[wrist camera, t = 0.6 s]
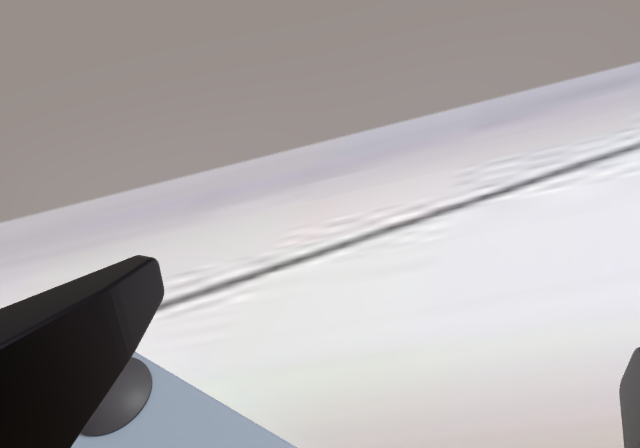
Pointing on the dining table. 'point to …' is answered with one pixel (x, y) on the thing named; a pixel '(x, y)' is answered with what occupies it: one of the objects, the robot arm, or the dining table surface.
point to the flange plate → (167, 415)
